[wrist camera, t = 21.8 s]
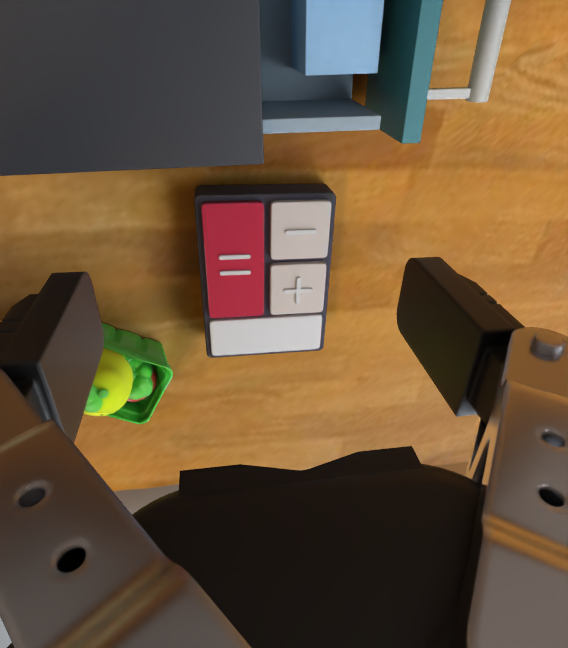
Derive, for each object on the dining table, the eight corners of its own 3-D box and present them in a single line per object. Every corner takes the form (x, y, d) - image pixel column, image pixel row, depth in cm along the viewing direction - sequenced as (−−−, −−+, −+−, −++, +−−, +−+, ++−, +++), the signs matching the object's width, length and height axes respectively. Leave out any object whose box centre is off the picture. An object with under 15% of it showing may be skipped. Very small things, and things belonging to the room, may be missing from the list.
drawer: (485, -85, 28) (570, -116, 21) (447, 116, 34) (503, 139, 28) (175, -93, 25) (165, -130, 19) (198, 125, 32) (196, 152, 26)
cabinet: (239, -101, 26) (254, -153, 18) (249, 129, 34) (264, 164, 26) (-28, -108, 25) (-138, -168, 17) (44, 136, 32) (-8, 176, 24)
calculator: (339, 195, 34) (325, 355, 42) (326, 181, 37) (315, 331, 45) (193, 197, 32) (206, 363, 40) (194, 182, 36) (206, 337, 44)
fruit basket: (34, 357, 42) (-13, 451, 33) (59, 283, 38) (14, 366, 29) (150, 390, 47) (138, 481, 37) (183, 327, 43) (178, 411, 34)
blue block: (354, 65, 30) (377, 73, 26) (291, 67, 30) (305, 75, 26) (359, -15, 28) (386, -21, 24) (290, -15, 27) (306, -20, 23)
